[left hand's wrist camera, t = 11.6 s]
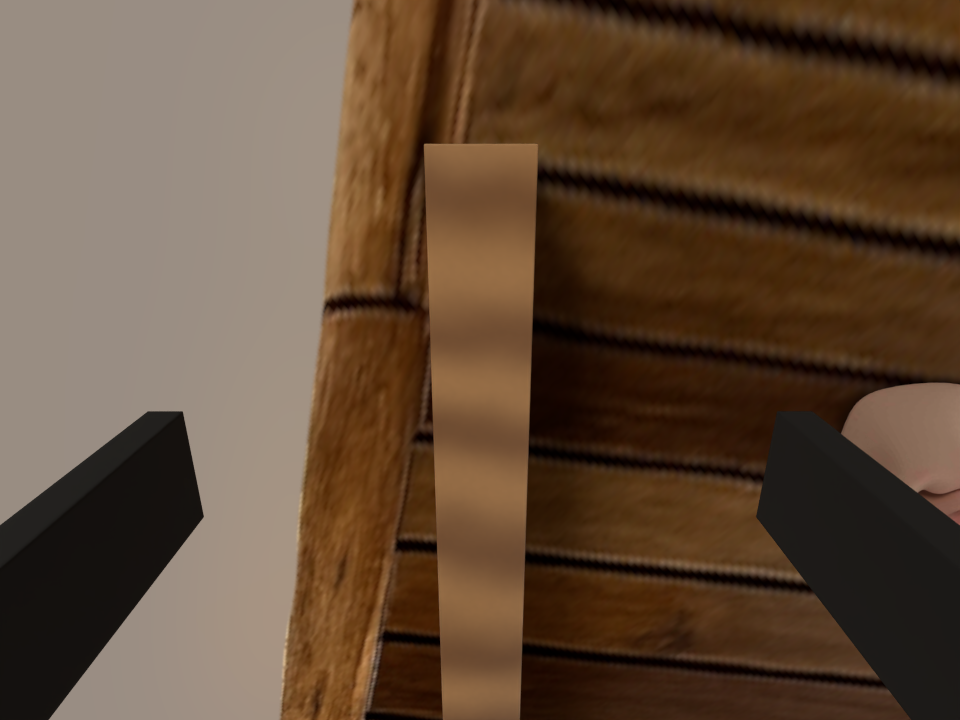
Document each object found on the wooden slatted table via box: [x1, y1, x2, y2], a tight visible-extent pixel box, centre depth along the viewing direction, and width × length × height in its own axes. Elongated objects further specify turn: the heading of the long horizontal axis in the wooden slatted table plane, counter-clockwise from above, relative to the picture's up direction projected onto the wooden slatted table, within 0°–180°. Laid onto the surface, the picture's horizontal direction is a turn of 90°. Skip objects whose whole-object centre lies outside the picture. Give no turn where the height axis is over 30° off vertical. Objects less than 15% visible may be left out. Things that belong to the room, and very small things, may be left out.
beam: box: [424, 144, 538, 720], centre depth 37 cm, size 62×5×8 cm, turn 0°
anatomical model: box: [841, 383, 960, 525], centre depth 35 cm, size 13×4×12 cm
